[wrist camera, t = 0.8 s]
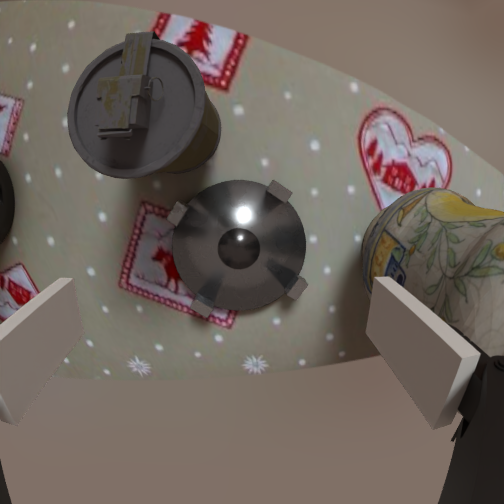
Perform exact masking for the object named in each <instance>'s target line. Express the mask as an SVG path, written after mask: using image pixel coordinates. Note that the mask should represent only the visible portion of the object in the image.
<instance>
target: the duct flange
mask: <svg viewBox="0 0 504 504" xmlns="http://www.w3.org/2000/svg"><path fill="white" fill-rule="evenodd" d="M291 195H292V192H291V191H289V190H288V189H286V188H285V187H284V186H282V185H281V184H279V183H278V182H276V181H275V180H272V182H271V183H270V185H269V186H265V185H263V184H260V183H257V182H253V181H246V180H232V181H225V182H221V183H218V184H215V185H213V186H211V187H208V188H207V189H205V190H203V191H202V192H200V193H199V194H198V195H196V196H195V197H194V198H193V199H192V200H191V201H190V202H189V203H188V204H187V203H185V202H183V201H182V200H179V201H177V202H176V204H175V205H174V207H173V209H172V210H171V212H170V214H169V215H168V217H167V219H166V220H168V221H169V222H171V223H172V224H174V225H175V228H174V233H173V240H172V251H173V258H174V262H175V265H176V268H177V271H178V273H179V275H180V277H181V278H182V280H183V281H184V283H185V284H186V286H187V287H188V288H189V289H190V290H191V291H192V292H193V293H194V294H195V295H196V296H195V298H194V300H193V301H192V304H191V307H190V308H191V309H192V310H194V311H196V312H198V313H199V314H201V315H203V316H204V317H206V318H207V317H208V316H209V315H210V313H211V312H212V310H213V307H214V306H216V307H219V308H223V309H228V310H250V309H255V308H259V307H262V306H264V305H267V304H269V303H271V302H273V301H275V300H276V299H278V298H279V297H280V296H282V295H283V294H284V293H285V292H286V294H287V295H288V296H289V297H291V298H293V299H294V300H297V299H298V298H299V296H300V295H301V294H302V292H303V291H304V290H305V288H306V287H307V286H308V284H307V282H306V280H305V279H304V278H302V277H301V276H299V273H300V271H301V269H302V266H303V263H304V259H305V253H306V239H305V233H304V228H303V225H302V223H301V220H300V218H299V216H298V214H297V212H296V211H295V209H294V208H293V207H292V205H291V204H290V203H289V202H288V199H289V198H290V196H291Z"/></svg>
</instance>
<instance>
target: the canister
mask: <svg viewBox="0 0 504 504" xmlns="http://www.w3.org/2000/svg"><path fill="white" fill-rule="evenodd" d="M67 117H68V128H69V135H70V138H71V141H72V143H73V146H74V148H75V150H76V151H77V152H78V154H79V155H80V157H81V158H82V159H83V160H84V161H85V162H86V163H87V164H88V165H89V166H90V167H91V168H92V169H94V170H96V171H98V172H99V173H101V174H104V175H107V176H111V177H114V178H121V179H129V178H139V177H143V176H147V175H150V174H153V173H160V172H167V173H184V172H188V171H191V170H194V169H196V168H198V167H199V166H201V165H202V164H204V163H205V162H206V161H207V160H208V159H209V158H210V157H211V156H212V154H213V153H214V151H215V149H216V148H217V146H218V143H219V140H220V135H221V122H220V117H219V114H218V112H217V110H216V108H215V107H214V105H213V104H212V103H211V102H210V100H209V98H208V95H207V93H206V91H205V86H204V82H203V78H202V76H201V73H200V71H199V69H198V67H197V66H196V64H195V63H194V61H193V60H192V59H191V57H190V56H189V55H188V54H187V53H185V52H184V51H183V50H182V49H180V48H179V47H177V46H176V45H174V44H171V43H168V42H166V41H163V40H160V39H159V38H158V36H157V35H156V33H155V32H140V33H130V34H126V38H125V42H122V43H119V44H117V45H115V46H113V47H111V48H109V49H107V50H105V51H104V52H103V53H102V54H101V55H99V56H98V57H97V58H96V59H95V60H93V61H92V62H91V63H90V64H89V65H88V66H87V67H86V68H85V70H84V71H83V73H82V74H81V76H80V78H79V79H78V81H77V83H76V85H75V87H74V89H73V91H72V94H71V98H70V103H69V108H68V113H67Z"/></svg>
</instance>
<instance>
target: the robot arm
mask: <svg viewBox="0 0 504 504" xmlns="http://www.w3.org/2000/svg"><path fill="white" fill-rule="evenodd" d="M13 214H14V192H13V186H12V182H11V179H10V176H9V173H8V171H7V169H6V167H5V166H4V164H3V163H2V162H1V161H0V244H1V243H2V242H3V240H4V239H5V238H6V236H7V234H8V232H9V230H10V227H11V224H12V220H13ZM365 333H366V334H367V336H368V337H369V338H370V340H371V341H372V343H373V344H374V345H375V347H376V348H377V350H378V351H379V352H380V354H381V355H382V357H383V358H384V359H385V361H386V362H387V364H388V365H389V366H390V368H391V369H392V371H393V372H394V373H395V375H396V376H397V378H398V379H399V381H400V382H401V384H402V385H403V387H404V388H405V389H406V391H407V392H408V394H409V395H410V397H411V398H412V399H413V401H414V402H415V404H416V405H417V407H418V408H419V410H420V411H421V413H422V414H423V416H424V417H425V419H426V420H427V422H428V423H429V425H430V426H431V428H432V429H437V428H440V427H443V426H446V425H449V424H451V423H452V421H453V419H454V417H455V415H456V413H457V411H459V412H460V413H461V414H462V416H463V418H462V420H461V422H460V424H459V426H458V428H457V430H456V432H455V434H454V436H453V438H452V439H451V441H454V440H455V438H456V442H455V447H454V451H453V455H452V459H451V463H450V466H449V470H448V473H447V477H446V480H445V484H444V487H443V490H442V493H441V496H440V499H439V502H438V504H504V356H501V355H496V356H492V357H490V356H489V355H487V354H486V353H485V352H484V351H483V350H482V349H481V348H479V347H478V346H477V345H476V344H475V343H474V342H473V341H470V339H469V338H468V337H467V336H466V335H465V336H464V334H463V333H462V332H461V331H460V330H459V329H457V328H456V327H454V326H452V325H450V324H448V323H446V322H444V321H443V320H442V319H441V318H439V317H438V316H437V315H436V314H435V313H433V312H432V311H431V310H430V309H429V308H427V307H426V306H425V305H424V304H423V303H421V302H420V301H419V300H418V299H417V298H415V297H414V296H413V295H412V294H410V293H409V292H408V291H407V290H405V289H404V288H403V287H402V286H400V285H399V284H398V283H397V282H395V281H394V280H393V279H392V278H390V277H374V281H373V289H372V296H371V302H370V309H369V315H368V321H367V327H366V332H365ZM83 335H84V328H83V324H82V319H81V315H80V310H79V305H78V300H77V294H76V289H75V283H74V278H59V279H58V280H56V281H55V282H54V283H52V284H51V285H50V286H48V287H47V288H46V289H45V290H43V291H42V292H41V293H39V294H38V295H37V296H35V297H34V298H33V299H32V300H30V301H29V302H28V303H26V304H25V305H24V306H23V307H21V308H20V309H19V310H18V311H16V312H15V313H14V314H13V315H12V316H10V317H9V318H8V319H7V320H5V321H4V322H3V323H2V324H1V325H0V419H1V421H3V422H6V423H9V424H12V425H15V426H17V425H18V424H19V422H20V420H21V419H22V418H23V416H24V415H25V413H26V412H27V410H28V409H29V407H30V406H31V405H32V403H33V402H34V400H35V399H36V397H37V396H38V395H39V393H40V392H41V390H42V389H43V388H44V386H45V385H46V383H47V382H48V381H49V379H50V378H51V377H52V375H53V374H54V373H55V371H56V370H57V369H58V367H59V366H60V364H61V363H62V362H63V361H64V359H65V358H66V357H67V355H68V354H69V353H70V351H71V350H72V349H73V347H74V346H75V345H76V344H77V342H78V341H79V340H80V338H81V337H82V336H83ZM0 504H12V503H11V499H10V496H9V493H8V489H7V486H6V482H5V478H4V474H3V470H2V465H1V461H0Z"/></svg>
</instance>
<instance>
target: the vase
mask: <svg viewBox="0 0 504 504" xmlns="http://www.w3.org/2000/svg"><path fill="white" fill-rule="evenodd" d="M362 257H363V280H364V286H365V289H366V292H367V295H368V298H369V300H370V302H371V296H372V289H373V281H374V277H390V278H392V279H393V280H394V281H395V282H397V283H398V284H399V285H400V286H402V287H403V288H404V289H405V290H407V291H408V292H409V293H410V294H412V295H413V296H414V297H415V298H417V299H418V300H419V301H420V302H421V303H423V304H424V305H425V306H426V307H427V308H429V309H430V310H431V311H432V312H433V313H435V314H436V315H437V316H438V317H439V318H441V319H442V320H443V321H444V322H446V323H448V324H450V325H452V326H454V327H456V328H457V329H459V330H460V331H461V332H462V333H463V334H464V336H465V335H466V336H467V337H468V338H469V339H470V341H473V342H474V343H475V344H476V345H477V346H478V347H479V348H481V349H482V350H483V351H484V352H485V353H486V354H487V355H489V356H490V357H492V356H496V355H501V356H504V212H502V211H498V210H493V209H485V208H481V207H477V206H475V205H474V204H473V203H472V202H471V201H469V200H468V199H467V198H466V197H464V196H462V195H461V194H459V193H456V192H454V191H451V190H447V189H442V188H423V189H419V190H415V191H412V192H409V193H407V194H405V195H403V196H401V197H400V198H398V199H397V200H396V201H395V202H394V203H392V204H391V205H390V206H388V207H386V208H384V209H383V210H382V211H381V212H380V213H379V214H378V215H377V216H376V217H375V218H374V219H373V220H372V222H371V223H370V225H369V227H368V229H367V231H366V233H365V237H364V241H363V249H362ZM457 412H458V413H460V412H459V411H457ZM460 414H461V413H460ZM461 415H462V414H461Z"/></svg>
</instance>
